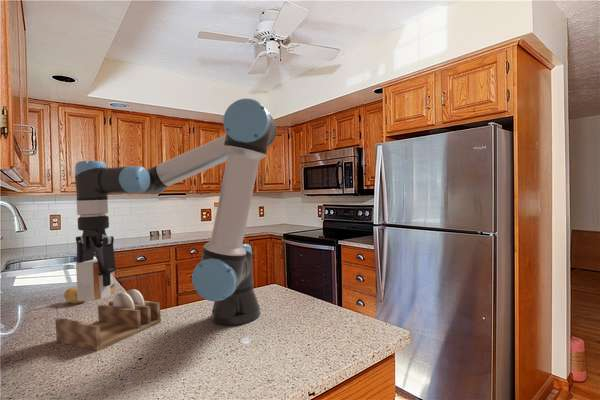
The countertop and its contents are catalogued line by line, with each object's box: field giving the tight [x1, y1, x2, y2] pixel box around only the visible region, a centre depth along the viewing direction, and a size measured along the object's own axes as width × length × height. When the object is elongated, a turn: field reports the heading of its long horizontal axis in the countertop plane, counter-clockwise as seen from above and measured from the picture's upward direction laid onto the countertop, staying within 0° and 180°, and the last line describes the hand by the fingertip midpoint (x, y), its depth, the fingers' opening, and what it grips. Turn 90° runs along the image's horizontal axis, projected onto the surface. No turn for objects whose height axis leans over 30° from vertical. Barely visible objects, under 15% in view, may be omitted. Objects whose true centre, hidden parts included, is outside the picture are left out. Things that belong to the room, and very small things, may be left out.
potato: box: [63, 286, 86, 305], centre depth 127 cm, size 7×11×6 cm, turn 64°
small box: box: [75, 258, 116, 302], centre depth 93 cm, size 8×6×10 cm
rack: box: [55, 288, 162, 352], centre depth 96 cm, size 18×20×10 cm
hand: (97, 295), depth 93 cm, fingers closed on small box, 6 cm apart
